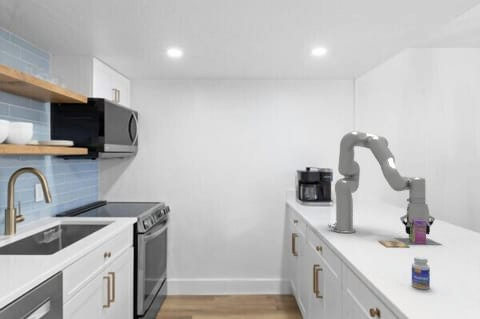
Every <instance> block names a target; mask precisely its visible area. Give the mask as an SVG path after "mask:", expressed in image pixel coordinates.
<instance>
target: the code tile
mask: <svg viewBox="0 0 480 319" xmlns="http://www.w3.org/2000/svg"><path fill="white" fill-rule="evenodd" d="M393 239H395V241H401V242H403V243H404V244H406V245H408V246H443V244H442V243H439V242H437V241H435V240H433V239H430V238H429V237H426V244H419V243H414V242H413V241H411V240H410V239H409V237H394V238H393Z"/></svg>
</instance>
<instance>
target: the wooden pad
mask: <svg viewBox="0 0 480 319" xmlns="http://www.w3.org/2000/svg"><path fill="white" fill-rule="evenodd" d="M378 243H379V244H381V245H382V246H384V247H385V248H399V249H400V248H402V249H403V248H405V249H406V248H407V249H408V248H409V249H411V247H410V246H411V245H406V244H404V243H403V242H401V241H398V240H378Z"/></svg>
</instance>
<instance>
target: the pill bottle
mask: <svg viewBox="0 0 480 319" xmlns="http://www.w3.org/2000/svg"><path fill="white" fill-rule="evenodd" d="M413 261H414V262H412V263H411V286H412V287H414V288H416V289H420V290H427V289H430V285H431V284H430V282H431V280H430V279H431V277H430V276H431V275H430V274H431V271H430V270H431V269H430V268H431V267H430V265H429V264H428V257H425V256H421V255H420V256H419V255H415V256H414V257H413Z"/></svg>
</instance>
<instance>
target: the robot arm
mask: <svg viewBox="0 0 480 319" xmlns="http://www.w3.org/2000/svg"><path fill="white" fill-rule="evenodd" d="M355 147H360V148H361V147H362V148H366V149H369V150H370V152H371V153H372V155H373V156H374V158H375V160H376V161H377V163H378V164H379V166H380V169H381V172H382V175H383V177H384V178H385V181H386V182H387V183H388V185H389V186H390V188H391V189H393V191H394V192H395V191H396V192H402V191H408V192H409V193H408V196H409V197H408V198H406V202H408V203H407V207H406V214H405V215H403V216H400V221H401V223H402V224H403V225H404V226H405V234H407V235H409V234H410V227H409V225H410V224H411V223H414V220H425V221H426V235H430V232H431V228H430V227H431V226H432V225H433V224H434V222H435V220H436V218H435V217H433V216H431V215H430V212H429V211H430V210H429V206H428V203H427V202H426V201H427V200H426V197H427V196H426V178H424V177H419V176H417V177H416V176H415V177H414V176H412V177H409V176H402V175H401V174H400V173H399V171H398V169H397V167H396V164H395V163H396V162H395V161H396V158H395V156H394V154H393V153H392V151H391V150H390V148H389V141H388V140H387V138H386V137H384V136H380V135H375V134H370V133H367V132H361V131H350V132H348V133H346V134H344V136H343V137H341V140H340V143H339V156H338V164H337V165H338V169H337V170H338V173H339V175H340V176H343V178H339V179H338V180H337V181H336V182H335V184H334V192H335V202H336V203H335V204H336V205H335V206H336V207H335V213H336V214H335V215H336V216H335V217H336V218H335V222H334V223H333V224H331V223H328V225H327V227H328V228H331V229H333V232H336V233H340V234H341V233H342V234H353V233H355V232H356V229H355V228H354V220H353V219H354V212H353V211H354V207H353V206H354V202H353V200H354V199H353V195H352V194H354V193H355V192H357V191H358V189H359V185H360V175H361V174H360V173H361V168H360V167H361V166H360V164H359V163H358V162H357V161H356V160H355V149H354V148H355ZM405 219H406V220H405Z"/></svg>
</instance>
